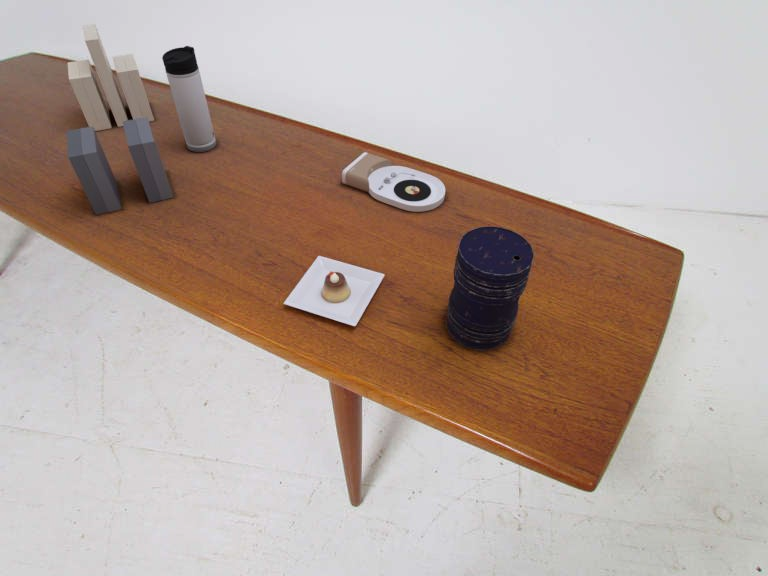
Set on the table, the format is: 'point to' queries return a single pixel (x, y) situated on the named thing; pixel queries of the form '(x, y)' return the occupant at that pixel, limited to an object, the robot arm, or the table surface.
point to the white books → (92, 95)
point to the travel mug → (189, 98)
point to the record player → (394, 183)
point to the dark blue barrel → (488, 286)
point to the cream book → (105, 73)
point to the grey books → (98, 173)
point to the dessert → (335, 290)
